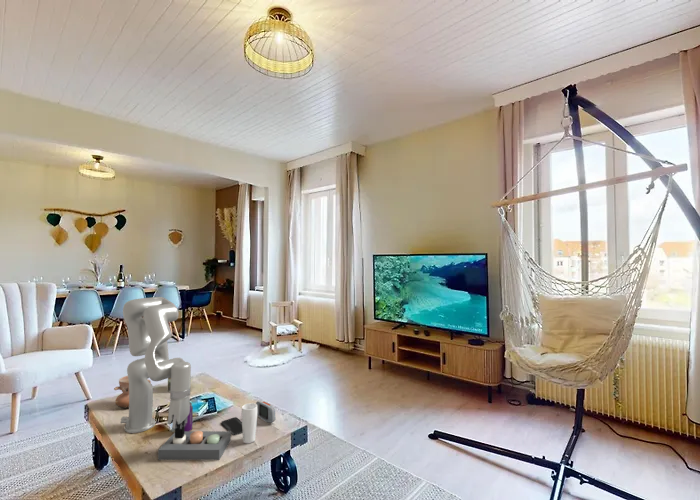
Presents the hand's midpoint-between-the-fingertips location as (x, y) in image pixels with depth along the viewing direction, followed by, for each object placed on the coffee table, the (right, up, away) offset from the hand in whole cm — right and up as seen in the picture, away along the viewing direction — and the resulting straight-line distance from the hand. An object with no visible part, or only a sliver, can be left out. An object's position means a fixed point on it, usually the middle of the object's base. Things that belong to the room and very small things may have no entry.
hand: (179, 437), depth 142 cm
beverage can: (-5, -6, +15) cm, 17 cm away
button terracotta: (+7, -3, 0) cm, 7 cm away
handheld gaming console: (+29, -6, +27) cm, 40 cm away
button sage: (+14, -4, 0) cm, 15 cm away
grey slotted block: (+7, -5, 0) cm, 9 cm away
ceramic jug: (-46, -5, +42) cm, 62 cm away
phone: (+16, -6, +19) cm, 26 cm away
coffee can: (-33, -6, +62) cm, 70 cm away
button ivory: (0, -4, 0) cm, 4 cm away
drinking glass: (+27, -6, +8) cm, 28 cm away
